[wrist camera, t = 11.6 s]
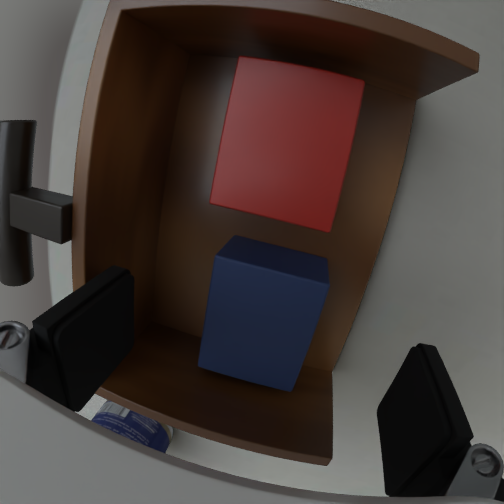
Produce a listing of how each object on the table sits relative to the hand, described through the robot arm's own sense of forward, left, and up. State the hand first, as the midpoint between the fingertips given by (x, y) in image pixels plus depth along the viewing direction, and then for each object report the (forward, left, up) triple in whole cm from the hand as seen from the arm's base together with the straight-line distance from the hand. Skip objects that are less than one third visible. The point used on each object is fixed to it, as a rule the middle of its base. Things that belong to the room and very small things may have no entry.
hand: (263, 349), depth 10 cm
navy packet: (+1, 0, -5) cm, 5 cm away
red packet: (-6, -1, -5) cm, 8 cm away
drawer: (-3, -3, -5) cm, 7 cm away
